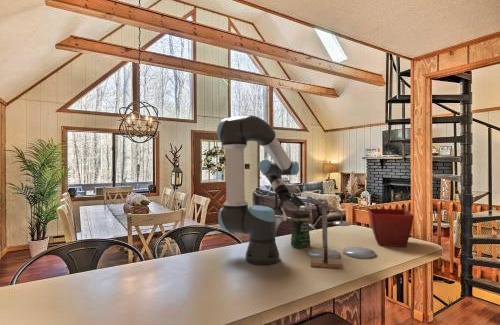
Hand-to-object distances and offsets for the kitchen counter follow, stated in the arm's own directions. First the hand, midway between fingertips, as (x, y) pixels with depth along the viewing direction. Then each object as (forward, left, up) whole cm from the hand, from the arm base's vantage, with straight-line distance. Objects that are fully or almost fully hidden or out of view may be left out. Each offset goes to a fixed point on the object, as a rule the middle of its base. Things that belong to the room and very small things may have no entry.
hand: (296, 218), depth 151 cm
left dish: (+13, -18, -14) cm, 26 cm away
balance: (+13, -31, -14) cm, 36 cm away
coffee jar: (+2, -5, -14) cm, 15 cm away
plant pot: (+48, +9, -14) cm, 51 cm away
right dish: (+29, -13, -14) cm, 35 cm away
